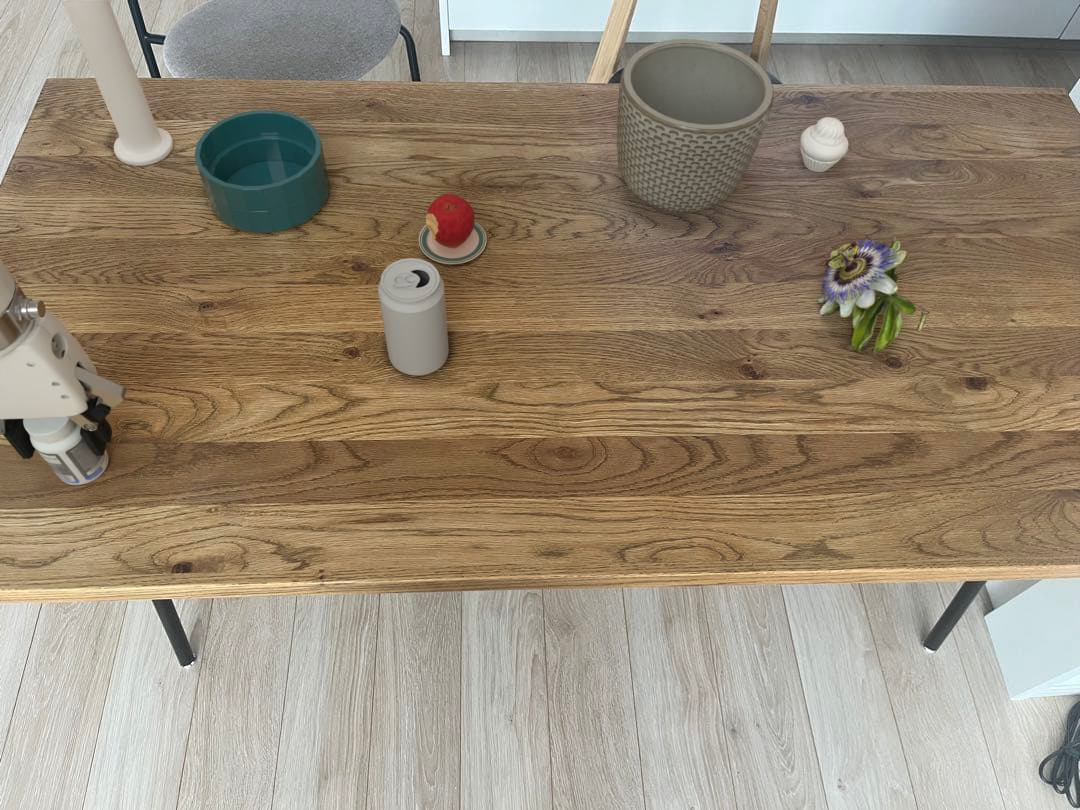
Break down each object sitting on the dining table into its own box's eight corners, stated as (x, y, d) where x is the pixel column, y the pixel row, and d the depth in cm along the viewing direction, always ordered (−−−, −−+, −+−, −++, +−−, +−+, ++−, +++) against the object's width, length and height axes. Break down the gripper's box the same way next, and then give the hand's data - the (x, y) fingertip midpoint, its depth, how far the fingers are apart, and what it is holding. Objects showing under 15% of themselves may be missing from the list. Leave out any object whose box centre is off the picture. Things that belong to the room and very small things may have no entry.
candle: (114, 169, 108) (26, -29, 87) (116, 133, 111) (32, -64, 91) (173, 163, 109) (100, -35, 88) (173, 127, 113) (103, -69, 92)
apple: (470, 274, 100) (469, 233, 95) (407, 255, 101) (402, 213, 96) (496, 230, 104) (496, 187, 99) (435, 212, 106) (432, 169, 100)
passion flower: (810, 334, 104) (814, 233, 101) (906, 332, 103) (914, 229, 99) (824, 360, 94) (829, 249, 90) (931, 358, 92) (941, 245, 88)
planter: (690, 262, 103) (719, 152, 90) (577, 194, 109) (589, 81, 96) (767, 191, 111) (804, 81, 98) (658, 131, 117) (679, 20, 104)
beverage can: (454, 373, 92) (450, 296, 82) (394, 385, 90) (383, 308, 81) (441, 328, 95) (435, 249, 85) (383, 339, 94) (371, 260, 84)
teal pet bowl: (203, 236, 102) (186, 190, 96) (219, 157, 110) (204, 110, 104) (326, 234, 103) (316, 188, 97) (333, 156, 111) (324, 109, 105)
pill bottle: (104, 438, 85) (71, 387, 78) (113, 475, 83) (79, 427, 76) (53, 454, 84) (14, 404, 77) (60, 493, 81) (21, 445, 75)
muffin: (847, 164, 115) (866, 119, 109) (824, 186, 112) (842, 142, 106) (807, 143, 117) (824, 98, 111) (783, 164, 114) (798, 119, 108)
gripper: (101, 276, 68) (170, 407, 83) (-130, 281, 67) (-18, 414, 82) (80, 350, 64) (156, 475, 79) (-168, 358, 63) (-42, 483, 77)
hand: (67, 443), depth 80 cm, fingers open, 5 cm apart
